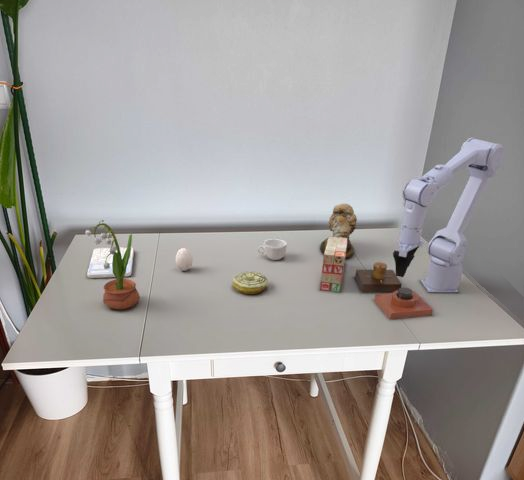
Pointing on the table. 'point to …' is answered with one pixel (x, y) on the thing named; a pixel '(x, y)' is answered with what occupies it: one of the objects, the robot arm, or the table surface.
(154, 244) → the table surface
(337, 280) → the stack of blocks
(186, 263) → the egg
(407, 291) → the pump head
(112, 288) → the potted flower
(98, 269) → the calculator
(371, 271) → the dial panel
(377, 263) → the dial
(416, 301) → the button base
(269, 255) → the teacup
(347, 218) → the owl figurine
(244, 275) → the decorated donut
